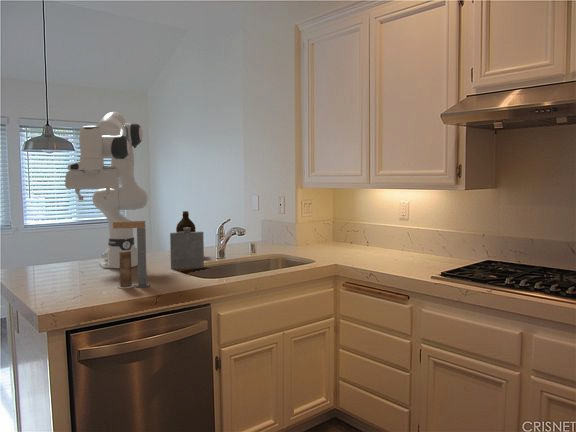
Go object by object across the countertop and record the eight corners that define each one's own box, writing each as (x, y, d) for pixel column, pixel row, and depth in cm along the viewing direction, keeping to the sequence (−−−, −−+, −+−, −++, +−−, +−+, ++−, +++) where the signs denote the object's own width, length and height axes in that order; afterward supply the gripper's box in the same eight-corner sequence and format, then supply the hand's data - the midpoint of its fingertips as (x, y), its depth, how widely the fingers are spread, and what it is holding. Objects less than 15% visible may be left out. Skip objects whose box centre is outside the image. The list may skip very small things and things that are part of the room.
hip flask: (203, 266, 233) (202, 226, 231) (204, 267, 229) (204, 227, 227) (170, 268, 228) (169, 227, 226) (171, 270, 224) (170, 228, 222)
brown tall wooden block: (118, 285, 190) (117, 251, 189) (129, 284, 193) (128, 250, 192) (122, 287, 187) (121, 253, 186) (133, 286, 190) (132, 251, 188)
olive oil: (199, 254, 269) (198, 210, 267) (189, 257, 259) (188, 212, 257) (183, 253, 272) (182, 210, 270) (173, 256, 262) (172, 211, 260)
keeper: (114, 289, 186) (112, 222, 183) (117, 285, 193) (115, 221, 190) (148, 287, 188) (146, 222, 186) (149, 283, 195) (148, 220, 193)
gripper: (120, 166, 194) (121, 199, 195) (67, 165, 190) (68, 199, 191) (117, 165, 188) (118, 200, 189) (63, 165, 184) (64, 200, 185)
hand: (93, 200), depth 190 cm, fingers open, 8 cm apart
